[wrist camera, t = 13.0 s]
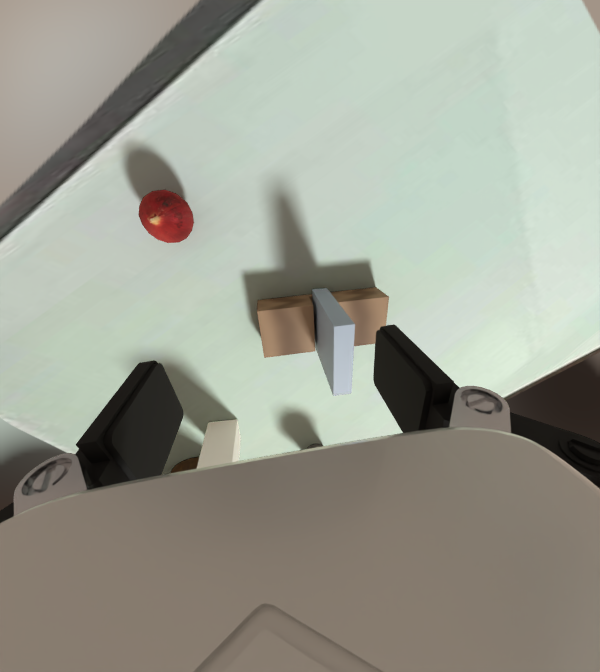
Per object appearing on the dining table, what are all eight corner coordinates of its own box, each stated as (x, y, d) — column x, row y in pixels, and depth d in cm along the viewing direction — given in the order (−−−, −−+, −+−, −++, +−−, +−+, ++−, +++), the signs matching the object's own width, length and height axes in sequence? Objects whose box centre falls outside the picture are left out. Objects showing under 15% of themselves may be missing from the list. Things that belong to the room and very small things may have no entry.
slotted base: (375, 287, 42) (388, 296, 38) (372, 329, 46) (384, 342, 42) (257, 300, 41) (257, 311, 36) (264, 342, 44) (264, 357, 40)
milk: (241, 438, 55) (230, 566, 35) (212, 441, 54) (185, 574, 35) (237, 418, 52) (223, 545, 32) (207, 421, 51) (174, 553, 32)
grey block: (326, 287, 40) (355, 324, 28) (327, 341, 45) (351, 393, 32) (312, 289, 40) (333, 326, 28) (313, 343, 45) (333, 395, 32)
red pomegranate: (167, 180, 32) (140, 173, 25) (207, 214, 34) (193, 216, 27) (145, 218, 33) (113, 221, 26) (184, 247, 36) (165, 258, 29)
